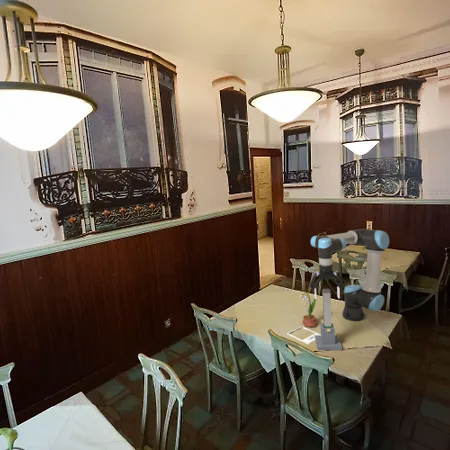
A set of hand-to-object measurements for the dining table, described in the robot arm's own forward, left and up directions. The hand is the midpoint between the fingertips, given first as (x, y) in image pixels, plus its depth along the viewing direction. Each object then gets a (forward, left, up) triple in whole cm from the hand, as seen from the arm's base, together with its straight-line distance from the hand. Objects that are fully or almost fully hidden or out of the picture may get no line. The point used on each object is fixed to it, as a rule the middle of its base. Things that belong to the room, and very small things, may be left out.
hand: (326, 297), depth 195 cm
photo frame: (+13, -11, -31) cm, 35 cm away
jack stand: (0, 0, -30) cm, 30 cm away
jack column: (0, 0, -20) cm, 20 cm away
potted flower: (+9, -25, -31) cm, 40 cm away
